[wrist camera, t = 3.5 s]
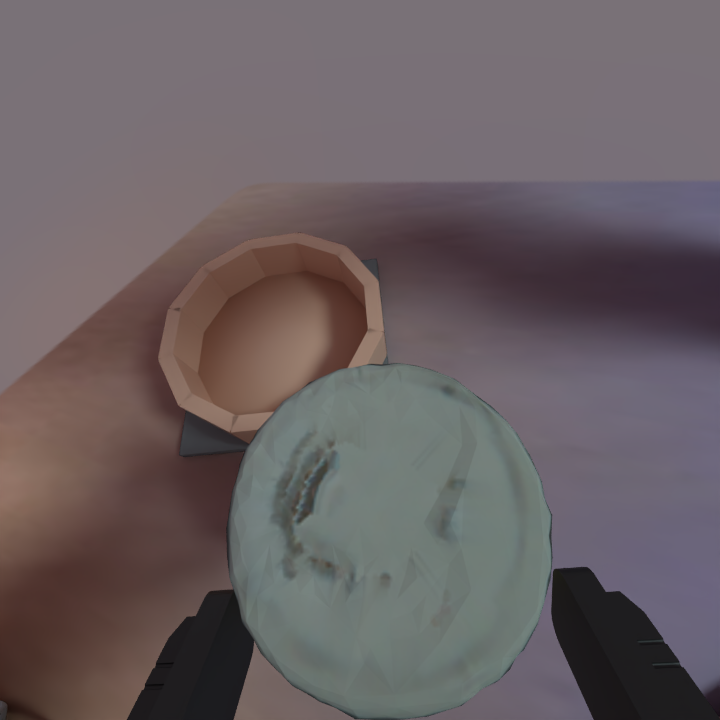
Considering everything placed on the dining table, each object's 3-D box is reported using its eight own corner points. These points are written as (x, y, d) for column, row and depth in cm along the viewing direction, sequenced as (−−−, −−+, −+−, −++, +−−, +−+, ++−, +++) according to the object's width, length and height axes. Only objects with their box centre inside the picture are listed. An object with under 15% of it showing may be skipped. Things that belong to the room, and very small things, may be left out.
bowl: (376, 258, 31) (371, 221, 27) (395, 434, 24) (393, 416, 21) (205, 281, 32) (179, 249, 28) (179, 455, 25) (141, 441, 22)
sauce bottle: (325, 517, 23) (39, 443, 5) (400, 451, 24) (371, 212, 6) (395, 616, 20) (289, 1144, 3) (475, 537, 22) (778, 528, 4)
